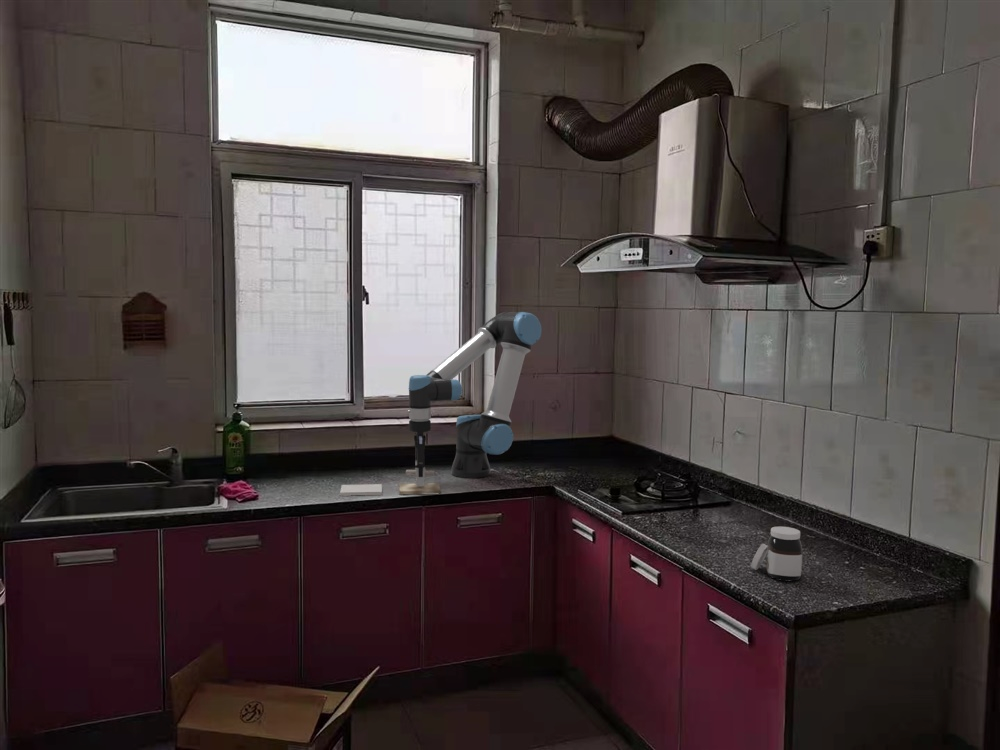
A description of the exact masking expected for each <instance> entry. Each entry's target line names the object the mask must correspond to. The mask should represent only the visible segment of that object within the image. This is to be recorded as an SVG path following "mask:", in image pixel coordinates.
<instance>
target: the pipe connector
mask: <svg viewBox="0 0 1000 750" xmlns="http://www.w3.org/2000/svg"><path fill="white" fill-rule="evenodd" d="M435 474H436V472H435V470H433V469H432V470H431V469H429V470H427V469H426V468H425V476H429V477H431V476H432V477H433V476H435ZM405 476H415V477H416V478H417V470H415V469H406V470H405ZM418 487H423V486H418Z"/></svg>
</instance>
